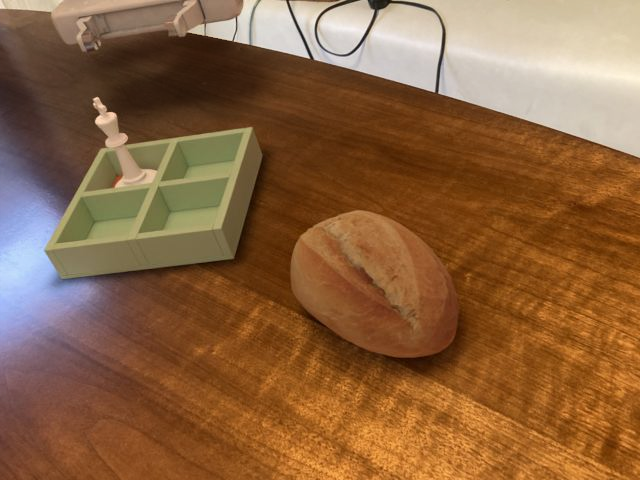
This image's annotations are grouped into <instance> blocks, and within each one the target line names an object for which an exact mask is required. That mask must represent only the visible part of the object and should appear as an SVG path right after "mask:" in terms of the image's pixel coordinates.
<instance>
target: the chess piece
mask: <svg viewBox="0 0 640 480" xmlns="http://www.w3.org/2000/svg"><path fill="white" fill-rule="evenodd" d="M92 101H93V103H92V106H93V107H94V109H96V110H97V111H98V113H99V115H98V116H97V117H96V118H95V119H94V123H95V125H96V126H97V127H98V128H99V129H100V130H101V131H102V132H103V133H104V134H105V135H106V136H107V138H106V139H105V140H104V142H105V147H106V148H108V147H109V148H115V151H116V154H117V156H118V159H119V162H120V165H121V168H122V171H123V177H122V179H121V180H119V181H118V183H117V184H116V185H115V188H117V187H124V186H132V185H139V184H147V183H152V182H153V180H154V177H155V175H156V173H157V171H156V170H152V169H140V168H139V167H138V165H137V164H136V162H135V161H134V159H133V158H132V156H131V155H130V153H129V151H128V150H127V148H126V146H125V145H126V144H125V143H127V141H128V140H129V137H128V135H127V134H126V133H124V132H120V129H119V121H118V115H117V113H115V112H113V111H108V109H107V106H106V105H104V104H103V103H102V101H101V100H100V98H99V97H98V96H96V97H94V98H92Z"/></svg>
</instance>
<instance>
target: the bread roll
mask: <svg viewBox="0 0 640 480" xmlns="http://www.w3.org/2000/svg"><path fill="white" fill-rule="evenodd" d="M291 255H292V256H291V259H290V272H289V273H290V285H291V292H292V294H293V295H294V297H295V299H296V300H297V301H298V303H299V304H300V305H301V307H303V308H304V309H305V311H306V312H307V313H309V314H310V315H311V316H313V318H315V319H316V320H317V321H318V322H320V323H321V324H322V325H324V326H326V327H327V328H328V329H329V330H330V331H332V332H334V334H336V335H337V336H339V337H341V339H342V338H343V339H344V340H346V341H347V342H350V343H352V344H353V345H356V346H357V347H359V348H361V349H364V350H367V351H369V352H372V353H376V354H379V355H384V356H387V357H392V358H402V359H403V358H404V359H405V358H408V359H409V358H411V359H413V358H414V359H415V358H421V357H427V356H432V355H435V354H438V353H441V352H442V351H444V350H446V349H447V348H448V347H449V346H450V345H451V344H452V343H453V341H454V339H455V337H456V335H457V329H458V324H459V315H460V305H459V298H458V294H457V291H456V288H455V285H454V282H453V279H452V277H451V275H450V273H449V270H448V269H447V268H446V266H445V265H444V264H443V262H442V261H441V260H440V258H439V257H438V255H437V254H436V253H435V252H434V250H433V249H432V248H431V247H430V246H429V245H428V244H427V243H426V242H425V241H424V240H422V239H421V238H420V237H419V236H418V235H416V233H414V232H413V231H411V230H410V229H408V228H407V227H405V226H403V225H402V224H401V223H399V222H397V221H396V220H393V219H391V218H390V217H387V216H385V215H383V214H379V213H377V212H372V211H370V210H369V211H368V210H362V209H361V210H359V209H355V210H353V211H349V212H348V211H347V212H345V213H340V214H338V215H336V216H333V217H330V218H327V219H325V220H323V221H320V222H317V223H316V224H314V225H313V226H312V227H309V228H307V229H306V231H305V232H304V233H302V234H301V235H300V236H299V237H298V240H297V242H296V243H295V245H294V248H293V250H292V254H291Z"/></svg>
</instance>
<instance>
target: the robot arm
mask: <svg viewBox="0 0 640 480" xmlns="http://www.w3.org/2000/svg"><path fill="white" fill-rule="evenodd" d="M244 3H245V2H244V0H62V1H61V2H60V3H59V4H58V5H57V6H55V8H53V10H52V11H51V13H50V18H51V22H52V24H53V27H54V28H55V30H56V32H57V34H58V37H59V38H60V39H61V41H62V42H63V43H64V44H66V45H68V46H73V45H74V46H75V45H79V48H80V50H81V52H82V53H89V52H94V51H98V50H99V48H100V47H101V46H102V42H101V41H105V40H112V39H113V40H114V39H118V38H124V37H132V36H137V35H143V34H150V33H156V32H162V31H167V32H168V33H167V36H168V37H169V39H178V38H184V37H186V36H187V34H188V32H189V31H190V30H193V29H194V28H196V27H197V26H201V25H206V24H213V23H219V22H226V21H227V22H228V21H232V20H233V19H236V18H237V17H239V16H240V15H241V14H242V12H243V9H244V5H245V4H244Z"/></svg>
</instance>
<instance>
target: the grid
mask: <svg viewBox="0 0 640 480" xmlns="http://www.w3.org/2000/svg"><path fill="white" fill-rule="evenodd" d="M124 145H125V146H126V148H127V150H128V151H129V153H130V155H131V156H132V158H133V159H134V161H135V162H136V164H137V165H138V167H139V168H140V169H152V170H156V171H157V173H156V175H155V177H154V180H153V182H152V183H147V184H139V185H132V186H124V187H117V188H115V185H116V184H117V183H118V181H119V180H121V179H122V177H123V171H122V168H121V165H120V162H119V159H118V156H117V154H116V151H115V148H109V147H102V148H100V149H99V151H98V153H97V154H96V156H95V157H94V160H93V162H92V164H91V165H90V167H89V169H88V171H87V172H86V174H85V176H84V178H83V179H82V182H81V183H80V185H79V187H78V189H77V190H76V192H75V194H74V196H73V197H72V199H71V201H70V203H69V205H68V207H67V208H66V210H65V211H64V213H63V215H62V217H61V218H60V221H59V223H58V224H57V226H56V228H55V230H54V232H53V233H52V235H51V237H50V239H48V242H47V243H46V246H45V248H44V250H43V251H44V253H45V255H46V256H47V259H49V261H50V262H51V264H52V266H53V267H54V269H55V270H56V272H57V273H58V275H59V277H60V278H61V280H69V279H76V278H77V279H78V278H85V277H93V276H102V275H109V274H119V273H127V272H135V271H143V270H153V269H160V268H168V267H177V266H186V265H192V264H202V263H210V262H218V261H226V260H227V261H228V260H234V259H235V257H236V253H237V249H238V246H239V243H240V238H241V235H242V232H243V228H244V225H245V220H246V217H247V214H248V211H249V207H250V203H251V199H252V195H253V192H254V189H255V184H256V182H257V178H258V174H259V170H260V168H261V164H262V159H263V156H264V155H263V153H262V150H261V147H260V144H259V141H258V138H257V135H256V133H255V130H254V128H253V126H248V127H242V128H241V127H240V128H235V129H226V130H220V131H213V132H207V133H200V134H193V135H185V136H179V137H172V138H165V139H164V138H163V139H158V140H151V141H143V142H136V143H129V144H124Z"/></svg>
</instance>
